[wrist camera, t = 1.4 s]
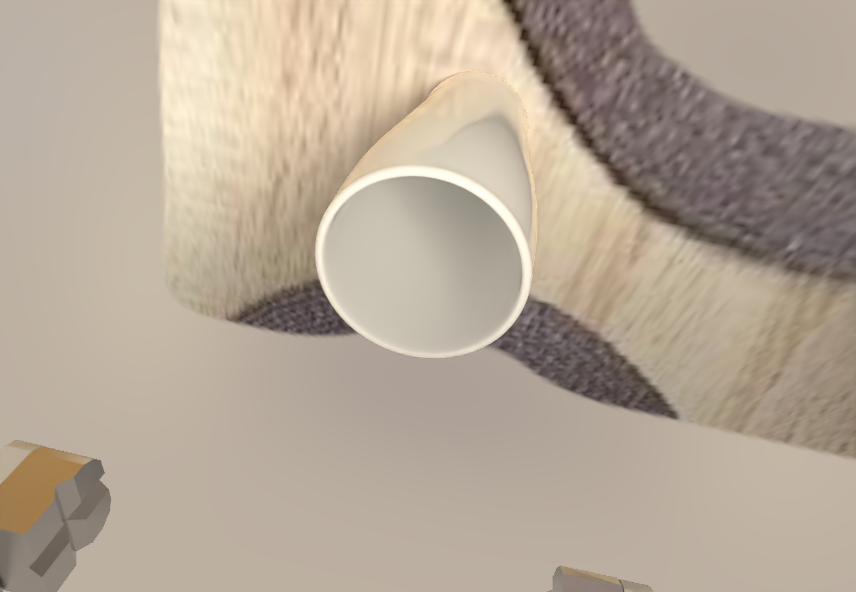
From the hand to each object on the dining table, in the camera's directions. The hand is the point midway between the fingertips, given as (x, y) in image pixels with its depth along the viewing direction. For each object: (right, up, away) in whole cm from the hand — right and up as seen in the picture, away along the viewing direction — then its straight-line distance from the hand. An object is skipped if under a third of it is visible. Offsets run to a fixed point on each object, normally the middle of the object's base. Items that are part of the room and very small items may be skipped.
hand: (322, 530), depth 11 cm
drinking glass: (+4, +13, +20) cm, 24 cm away
